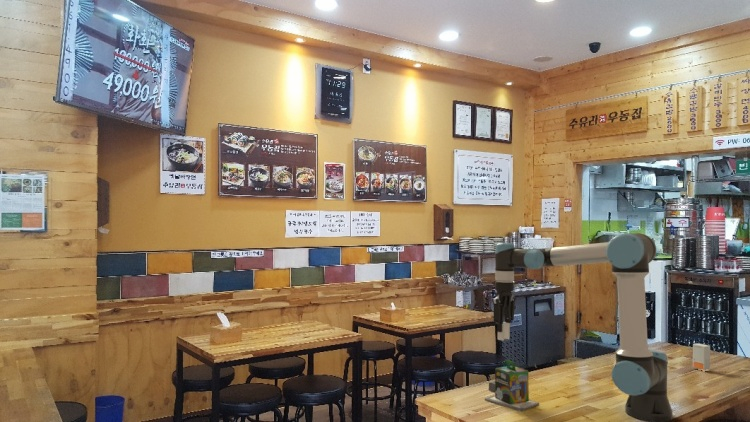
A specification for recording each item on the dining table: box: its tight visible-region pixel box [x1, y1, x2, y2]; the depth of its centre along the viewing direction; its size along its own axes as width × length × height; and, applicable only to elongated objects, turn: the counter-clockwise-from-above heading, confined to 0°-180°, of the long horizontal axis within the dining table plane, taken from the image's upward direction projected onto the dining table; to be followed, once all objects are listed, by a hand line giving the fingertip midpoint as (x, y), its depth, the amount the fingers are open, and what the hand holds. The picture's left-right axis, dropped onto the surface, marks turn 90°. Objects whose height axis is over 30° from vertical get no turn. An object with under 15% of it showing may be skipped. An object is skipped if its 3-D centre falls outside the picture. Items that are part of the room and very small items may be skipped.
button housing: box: [488, 380, 495, 393], centre depth 223 cm, size 8×8×3 cm
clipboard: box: [484, 394, 540, 412], centre depth 208 cm, size 16×12×1 cm
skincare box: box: [692, 342, 711, 370], centre depth 262 cm, size 6×4×12 cm
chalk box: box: [494, 359, 530, 404], centre depth 209 cm, size 9×9×15 cm
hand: (503, 339), depth 224 cm, fingers open, 3 cm apart
